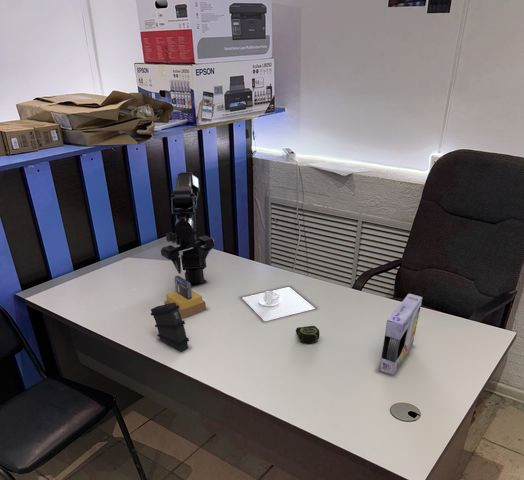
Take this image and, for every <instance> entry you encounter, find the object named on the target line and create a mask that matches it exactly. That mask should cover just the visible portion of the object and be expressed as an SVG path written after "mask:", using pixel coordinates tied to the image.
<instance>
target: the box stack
mask: <svg viewBox="0 0 524 480" xmlns="http://www.w3.org/2000/svg"><path fill="white" fill-rule="evenodd" d="M191 293H192V299H189V300H188V299H186V298H184V297H183V296H181V295H180V294H178V293H177V292H176V291H172V292H170V293H167V294H166V295H165V297H166V300H165V301H164V302H163V303H164V304H163V305H165V304H169V303H174V302H175V303H176V305H179V307H180V308H178V310H179V312H180V315H181V318H182V319H184V318H187V317H189V316H192V315H194V314H195V315H196V314H198V313H200V312H203V311H205V310H207V305H206V301H204V300H203V295H201V294H199V293H198V292H196V291H195V290H193V289H191Z"/></svg>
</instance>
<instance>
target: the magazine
mask: <svg viewBox="0 0 524 480" xmlns="http://www.w3.org/2000/svg"><path fill="white" fill-rule="evenodd" d="M178 308H180V307H179V305H176V303H175V302H174V303H169V304H161V305H160V304H159V305H157V306H155V307H153V308H150V316H152V317H153V319H154V322H155V324H154V327H155V328H157V331H158V334H156V336H157V337H158V338H159V341H161V342H162V343H164V344H166V345H167V346H170V347H171V348H173V349H175V350H177V351H178V352H184V351H185V350H187V349H188V348H189V344H188V343H189V341H190V338H189V337H187V333H186V328H185V325H186V322H185V320H183V318H181V315H180V312H179V310H178Z"/></svg>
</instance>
